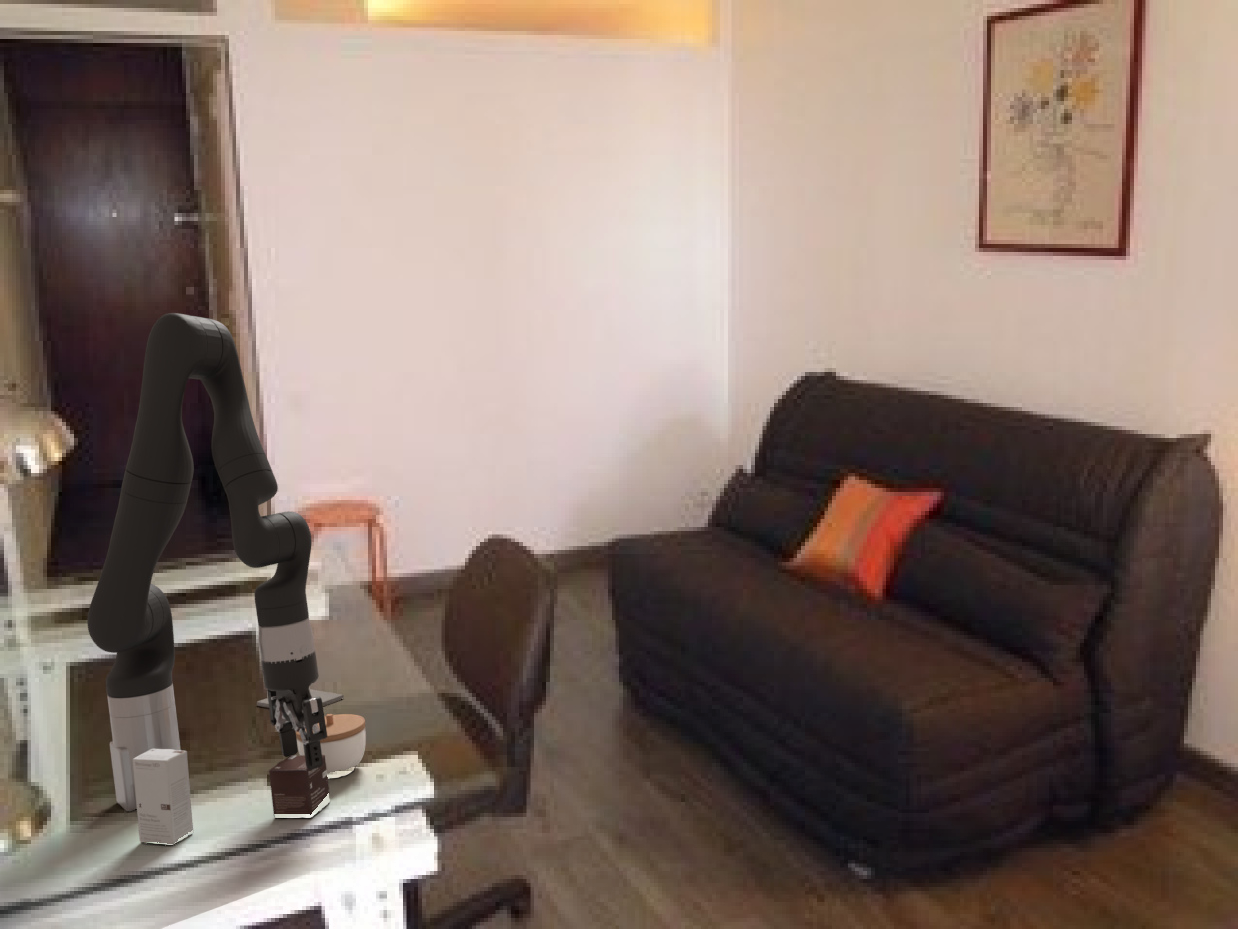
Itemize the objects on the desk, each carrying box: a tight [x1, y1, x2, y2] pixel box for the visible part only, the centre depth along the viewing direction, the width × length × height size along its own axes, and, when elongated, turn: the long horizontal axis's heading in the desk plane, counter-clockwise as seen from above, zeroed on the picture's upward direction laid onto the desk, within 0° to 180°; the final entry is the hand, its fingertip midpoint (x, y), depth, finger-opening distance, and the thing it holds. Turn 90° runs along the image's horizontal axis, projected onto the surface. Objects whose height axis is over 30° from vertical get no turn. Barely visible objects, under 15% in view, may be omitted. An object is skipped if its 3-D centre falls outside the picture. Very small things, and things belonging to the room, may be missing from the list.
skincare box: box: [132, 749, 194, 844], centre depth 147 cm, size 6×4×12 cm
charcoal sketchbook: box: [256, 688, 345, 709], centre depth 209 cm, size 10×14×1 cm
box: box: [268, 755, 330, 815], centre depth 154 cm, size 6×6×7 cm
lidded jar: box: [296, 713, 367, 773], centre depth 168 cm, size 11×11×9 cm
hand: (302, 761), depth 154 cm, fingers open, 8 cm apart
